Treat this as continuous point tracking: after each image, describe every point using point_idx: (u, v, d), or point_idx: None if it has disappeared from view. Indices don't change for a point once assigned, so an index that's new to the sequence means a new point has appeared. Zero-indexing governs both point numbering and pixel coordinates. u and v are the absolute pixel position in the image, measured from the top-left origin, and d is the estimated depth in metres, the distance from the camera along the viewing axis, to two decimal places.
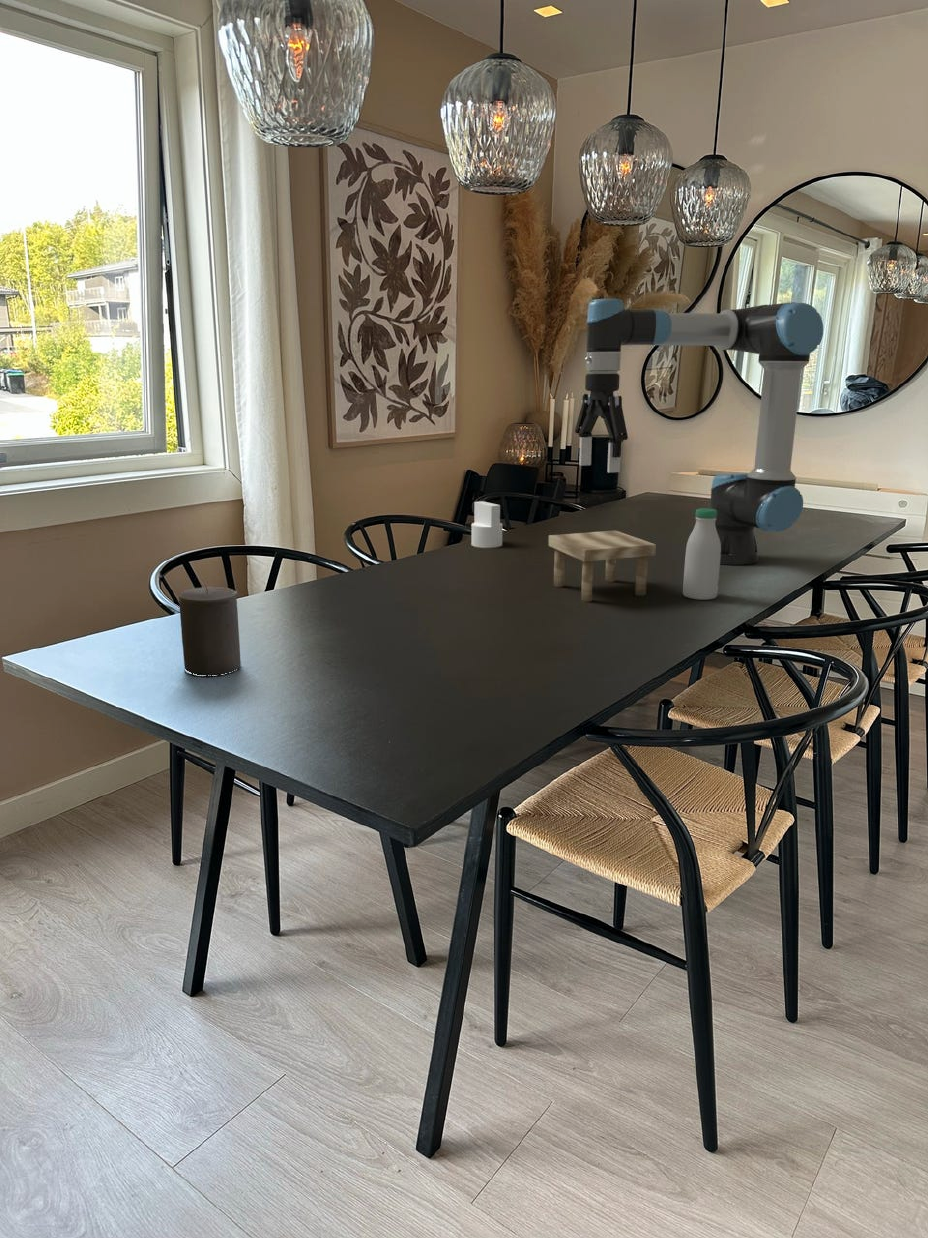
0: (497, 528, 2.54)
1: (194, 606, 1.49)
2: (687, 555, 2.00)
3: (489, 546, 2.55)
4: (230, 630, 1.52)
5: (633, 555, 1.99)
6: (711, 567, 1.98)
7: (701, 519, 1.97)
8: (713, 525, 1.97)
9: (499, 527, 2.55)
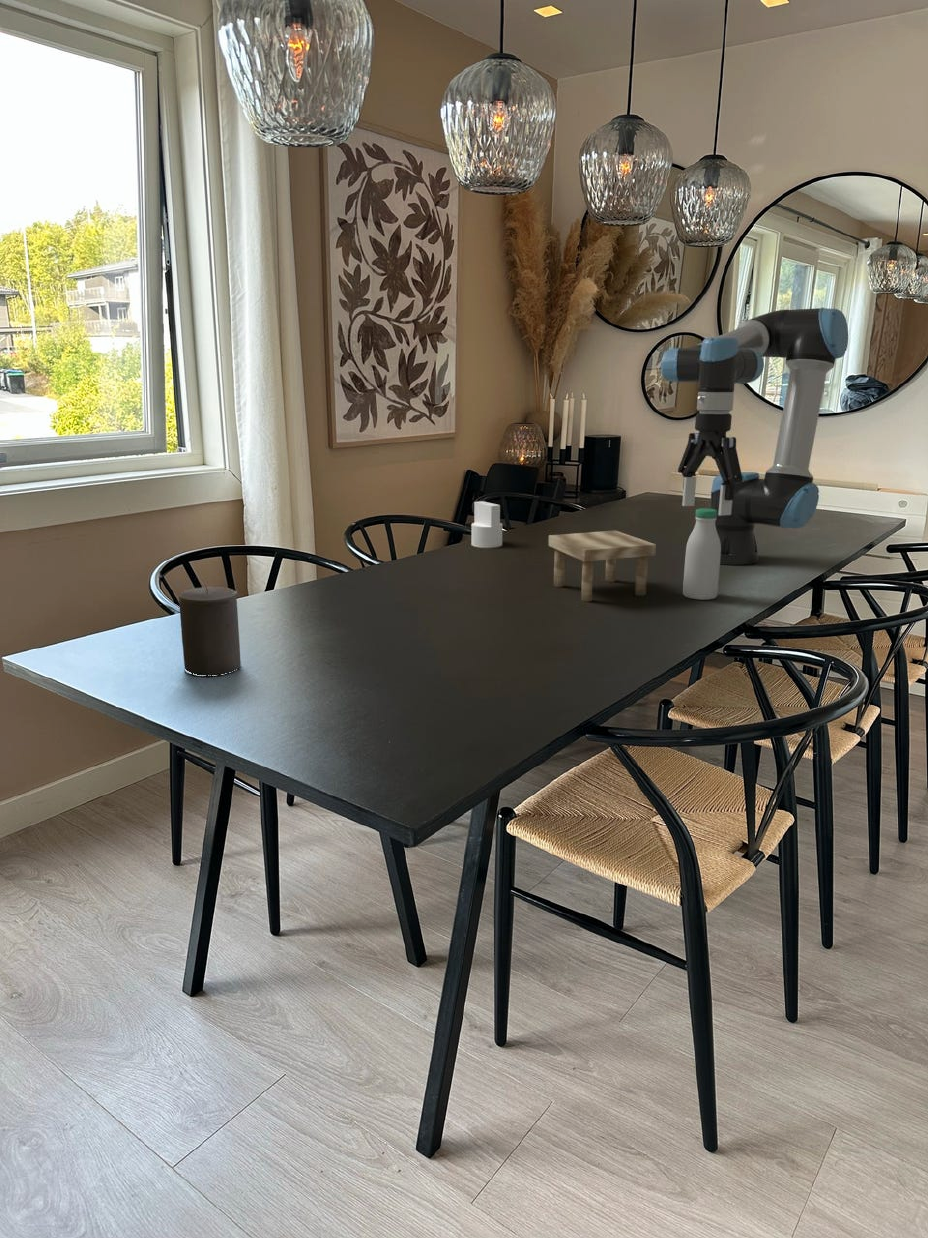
0: (497, 528, 2.54)
1: (194, 606, 1.49)
2: (687, 555, 2.00)
3: (489, 546, 2.55)
4: (230, 630, 1.52)
5: (633, 555, 1.99)
6: (711, 567, 1.98)
7: (701, 519, 1.97)
8: (713, 525, 1.97)
9: (499, 527, 2.55)
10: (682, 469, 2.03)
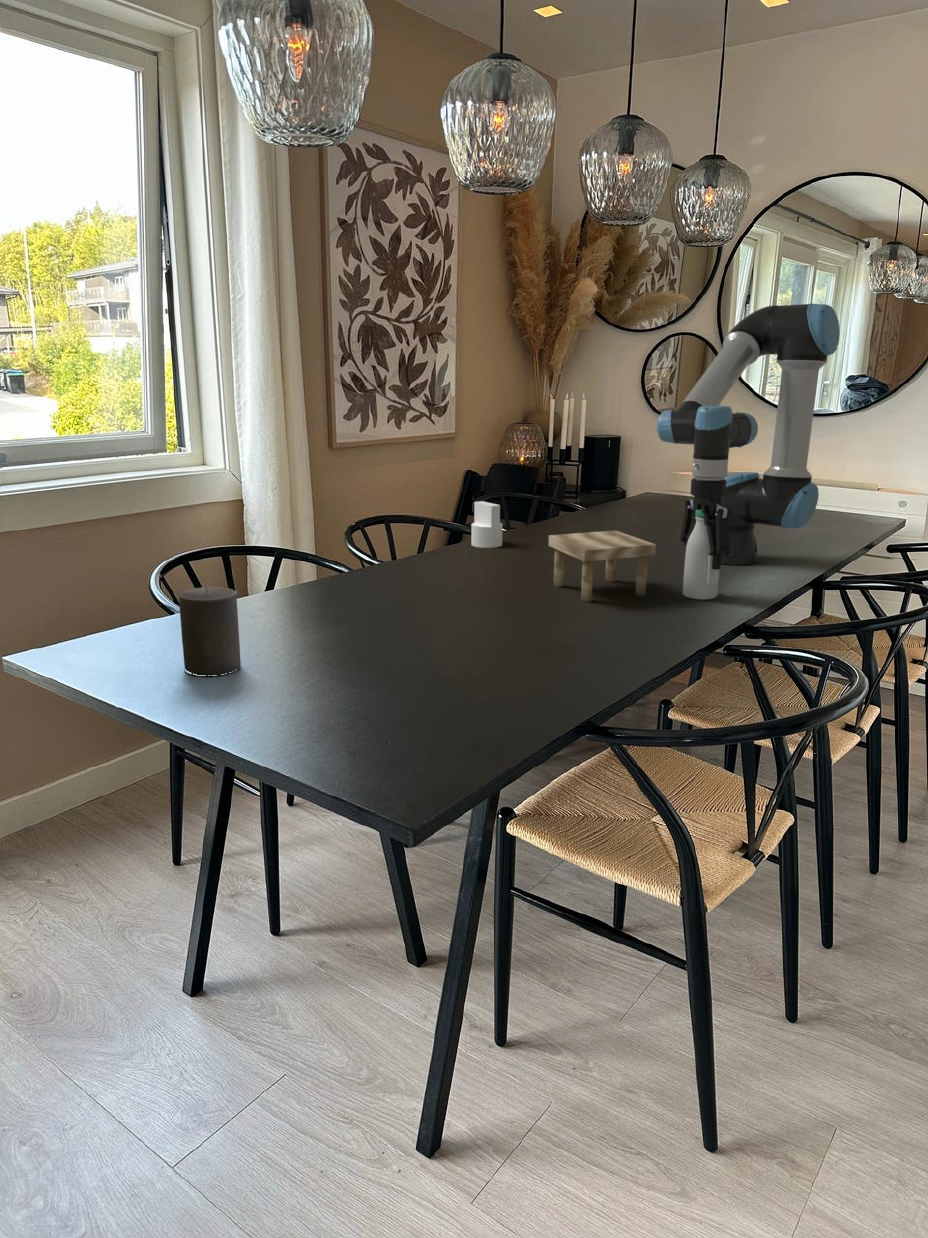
0: (497, 528, 2.54)
1: (194, 606, 1.49)
2: (687, 555, 2.00)
3: (489, 546, 2.55)
4: (230, 630, 1.52)
5: (633, 555, 1.99)
6: None
7: (701, 519, 1.97)
8: None
9: (499, 527, 2.55)
10: (684, 537, 2.05)
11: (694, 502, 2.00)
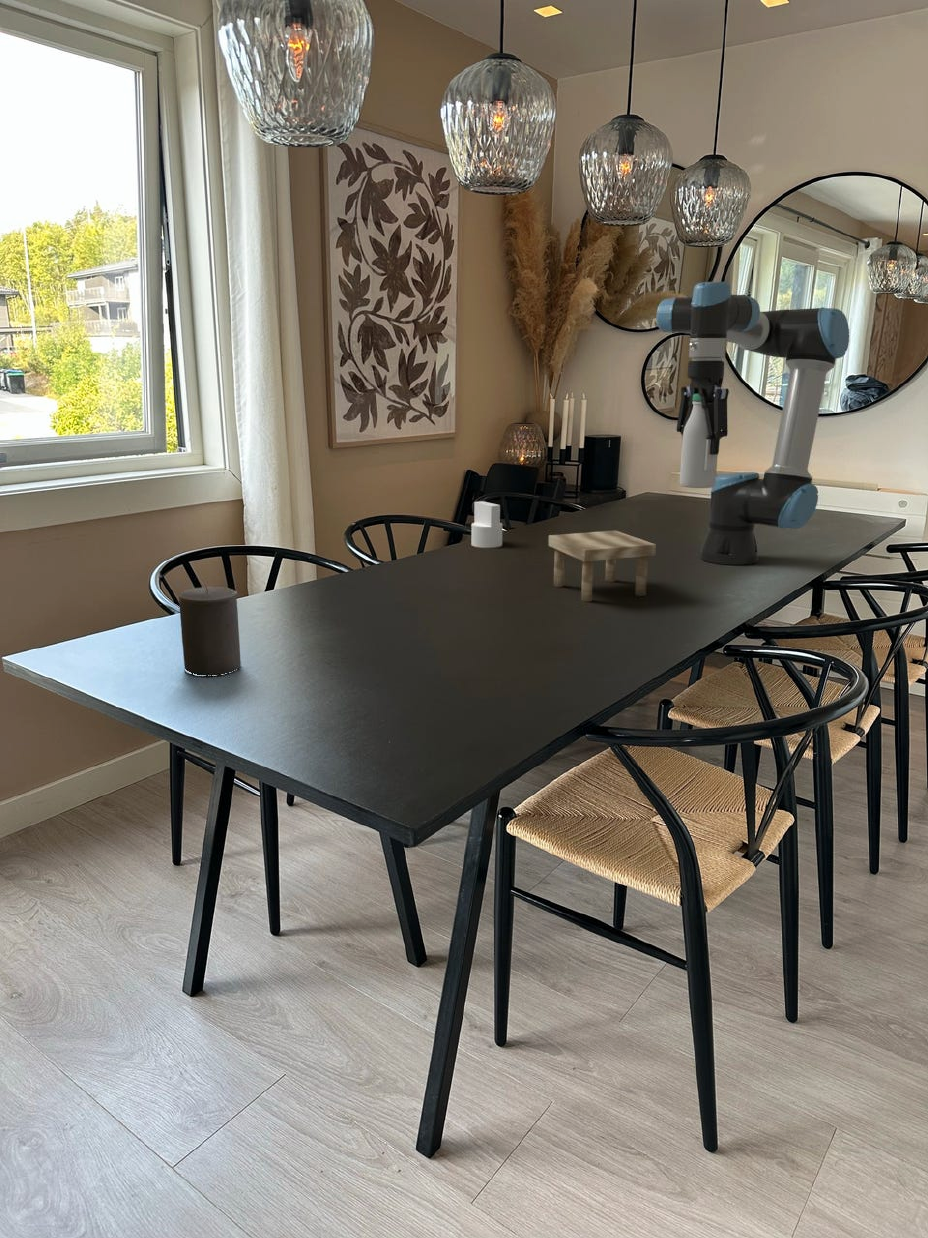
0: (497, 528, 2.54)
1: (194, 606, 1.49)
2: (684, 442, 1.93)
3: (489, 546, 2.55)
4: (230, 630, 1.52)
5: (633, 555, 1.99)
6: None
7: (698, 403, 1.90)
8: None
9: (499, 527, 2.55)
10: (680, 427, 1.98)
11: (691, 387, 1.93)
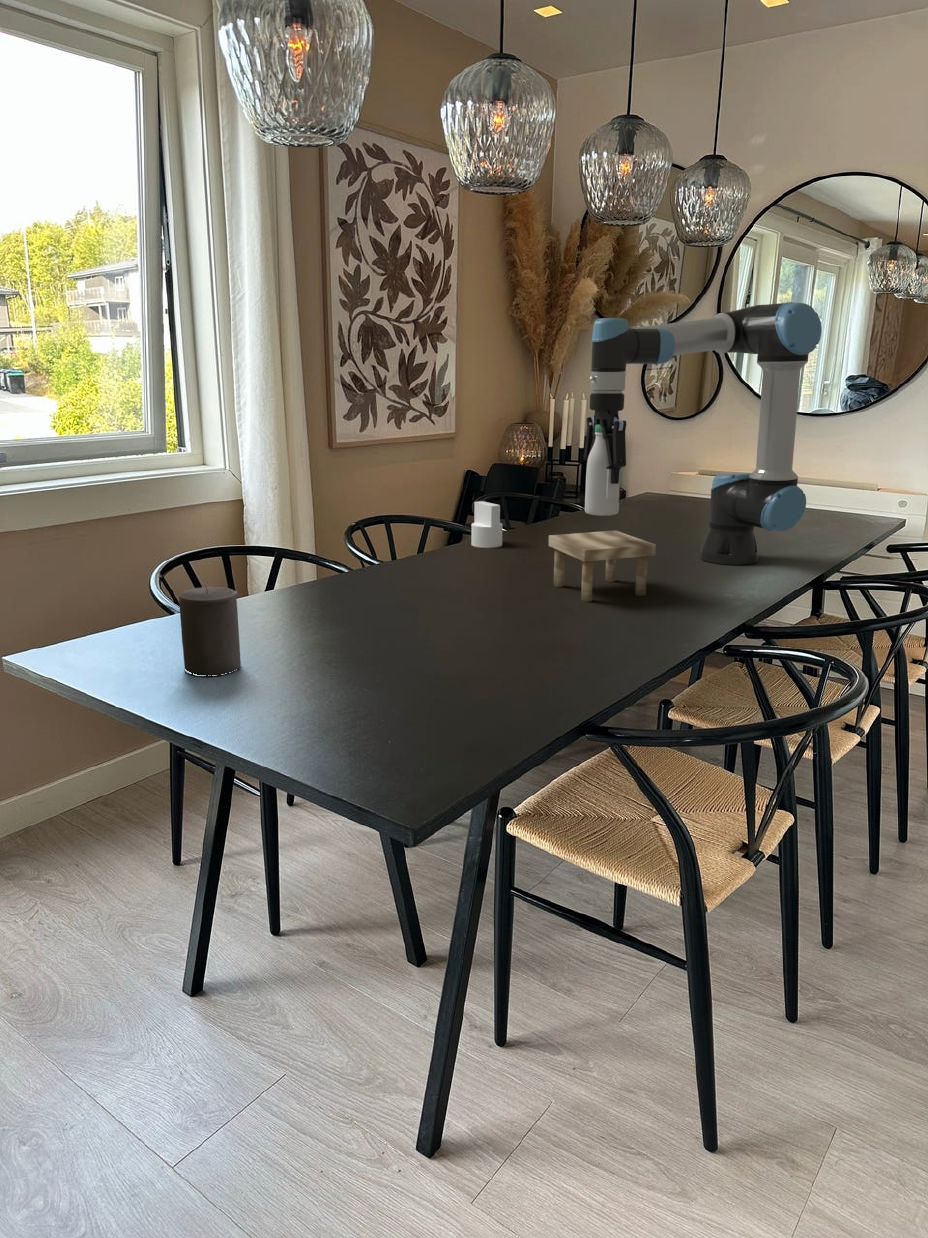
0: (497, 528, 2.54)
1: (194, 606, 1.49)
2: (587, 471, 2.00)
3: (489, 546, 2.55)
4: (230, 630, 1.52)
5: (633, 555, 1.99)
6: None
7: (600, 434, 1.97)
8: None
9: (499, 527, 2.55)
10: (587, 455, 2.05)
11: (594, 418, 2.00)
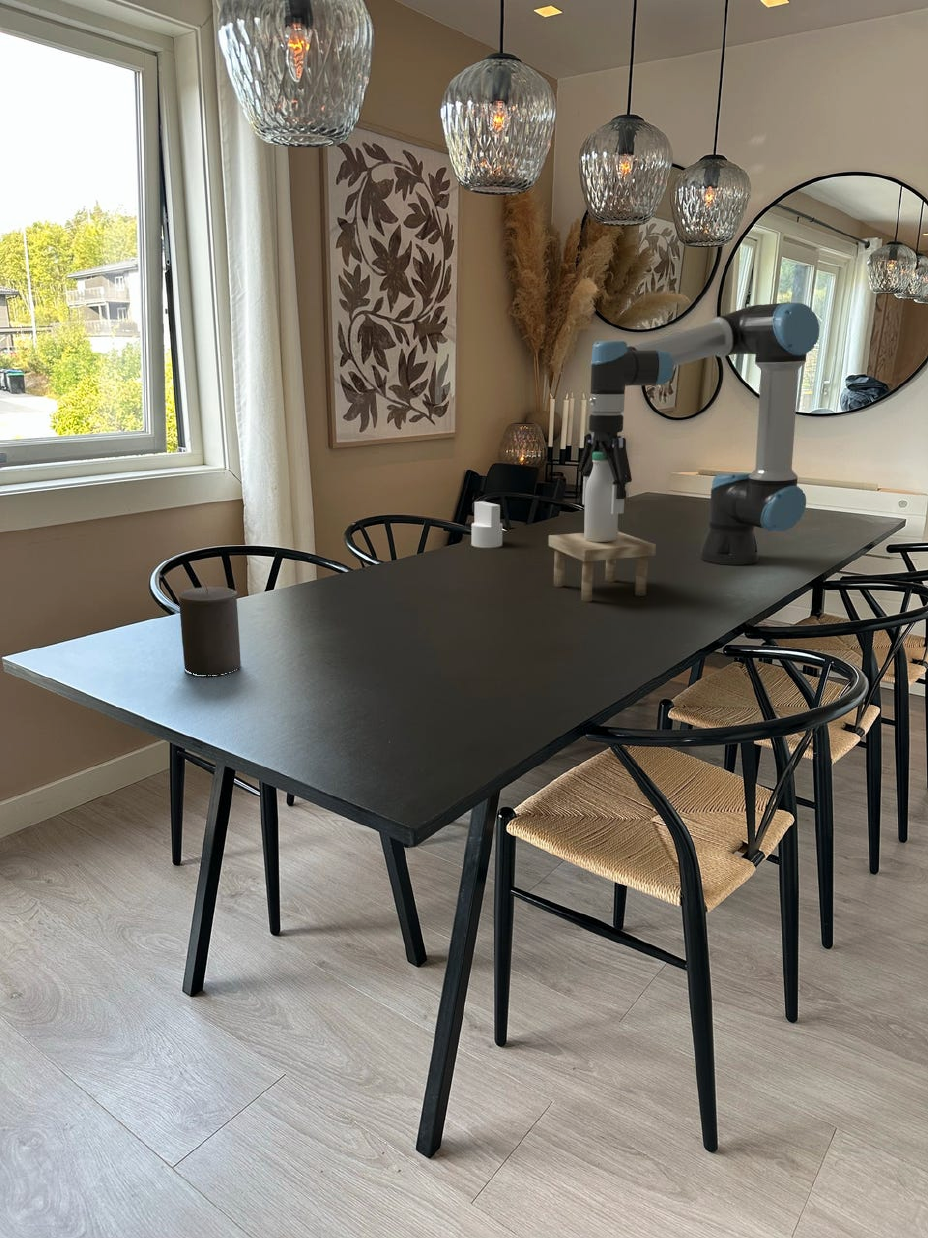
0: (497, 528, 2.54)
1: (194, 606, 1.49)
2: (586, 498, 2.02)
3: (489, 546, 2.55)
4: (230, 630, 1.52)
5: (633, 555, 1.99)
6: (608, 509, 1.99)
7: (597, 462, 1.99)
8: (609, 467, 1.99)
9: (499, 527, 2.55)
10: (582, 469, 2.08)
11: (594, 439, 2.01)
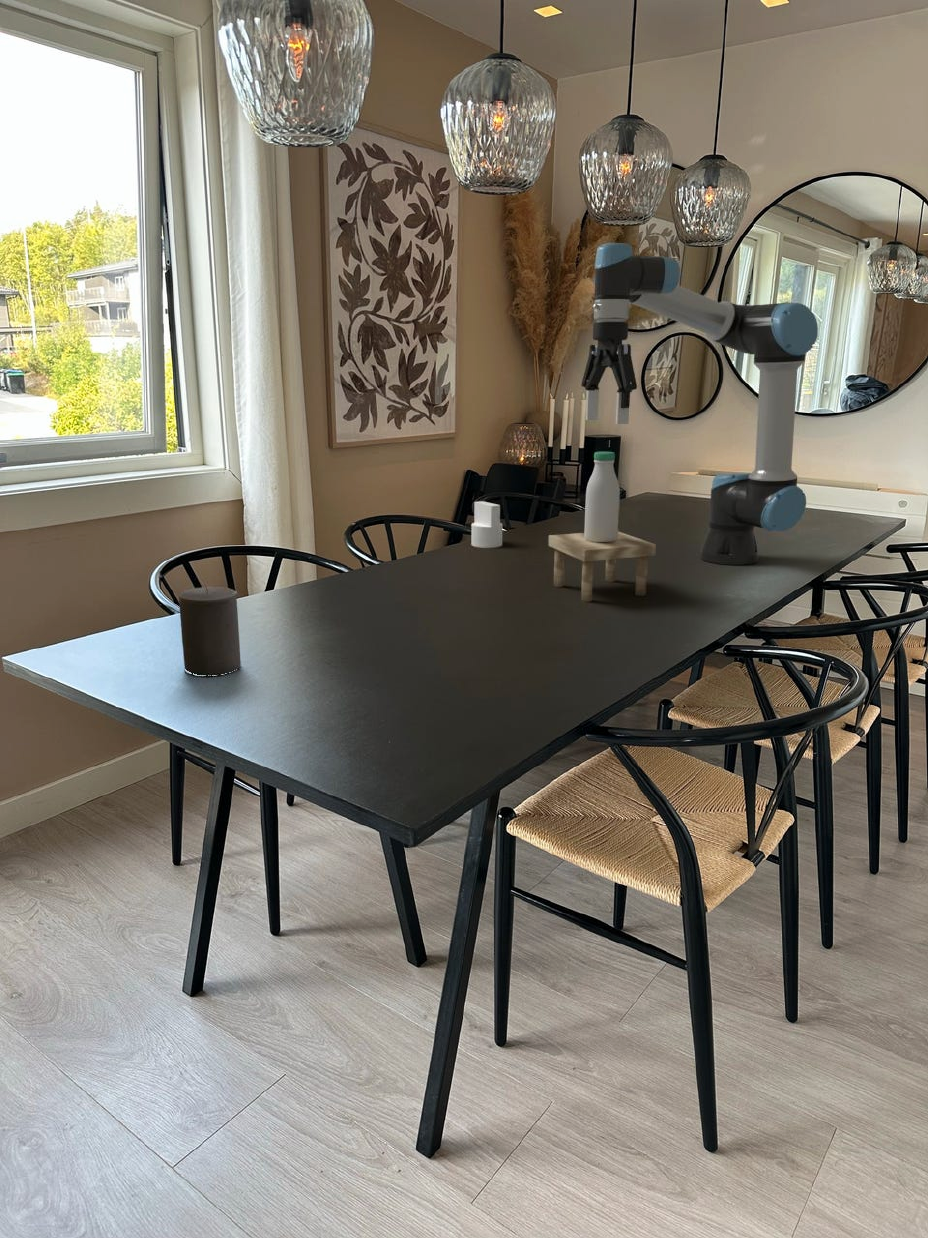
0: (497, 528, 2.54)
1: (194, 606, 1.49)
2: (586, 498, 2.02)
3: (489, 546, 2.55)
4: (230, 630, 1.52)
5: (633, 555, 1.99)
6: (609, 509, 2.00)
7: (599, 462, 1.99)
8: (611, 467, 1.99)
9: (499, 527, 2.55)
10: (585, 383, 2.03)
11: (598, 349, 1.96)
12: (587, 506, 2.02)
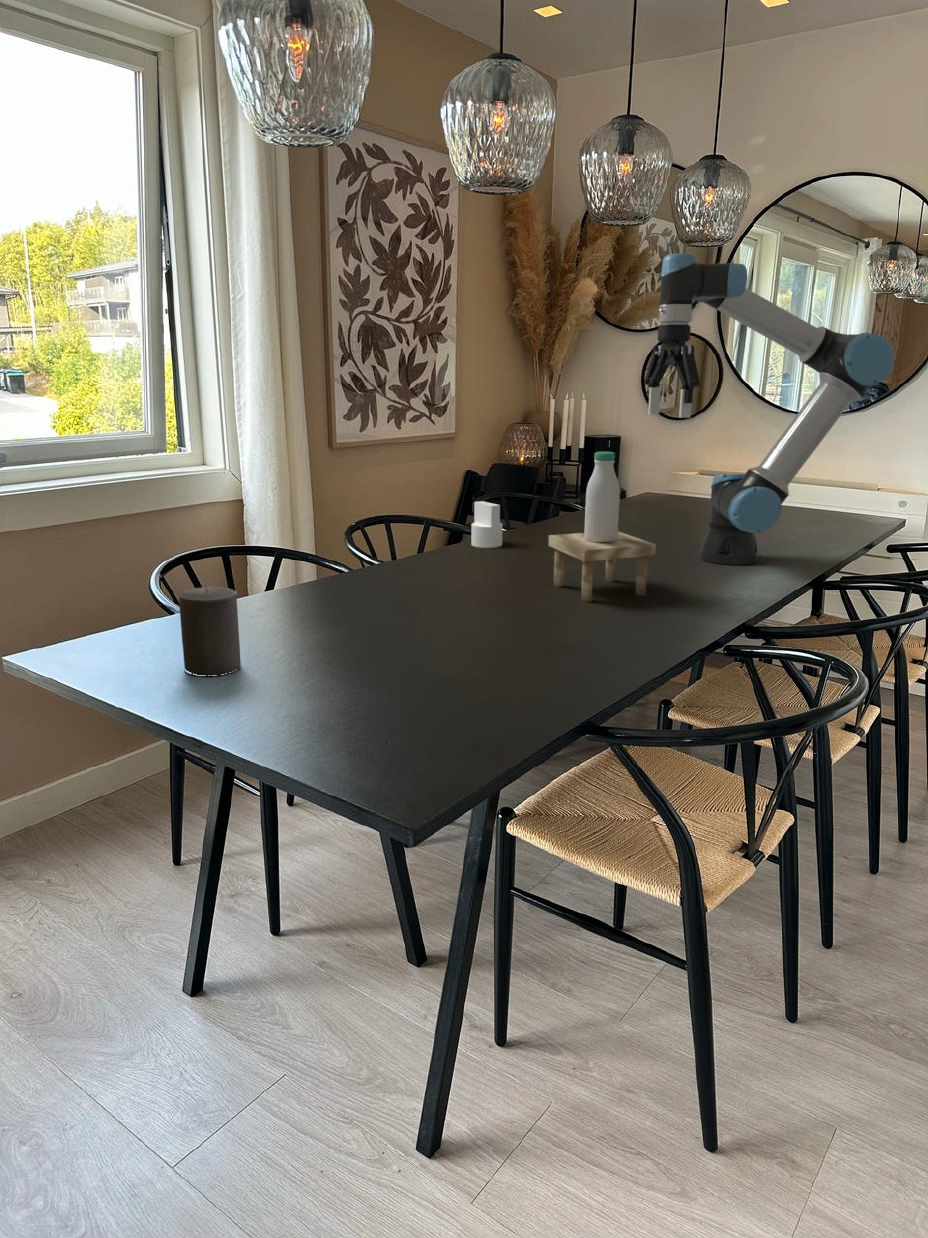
0: (497, 528, 2.54)
1: (194, 606, 1.49)
2: (586, 498, 2.02)
3: (489, 546, 2.55)
4: (230, 630, 1.52)
5: (633, 555, 1.99)
6: (609, 510, 1.99)
7: (599, 462, 1.99)
8: (611, 467, 1.99)
9: (499, 527, 2.55)
10: (648, 380, 2.22)
11: (661, 349, 2.14)
12: (587, 506, 2.02)
